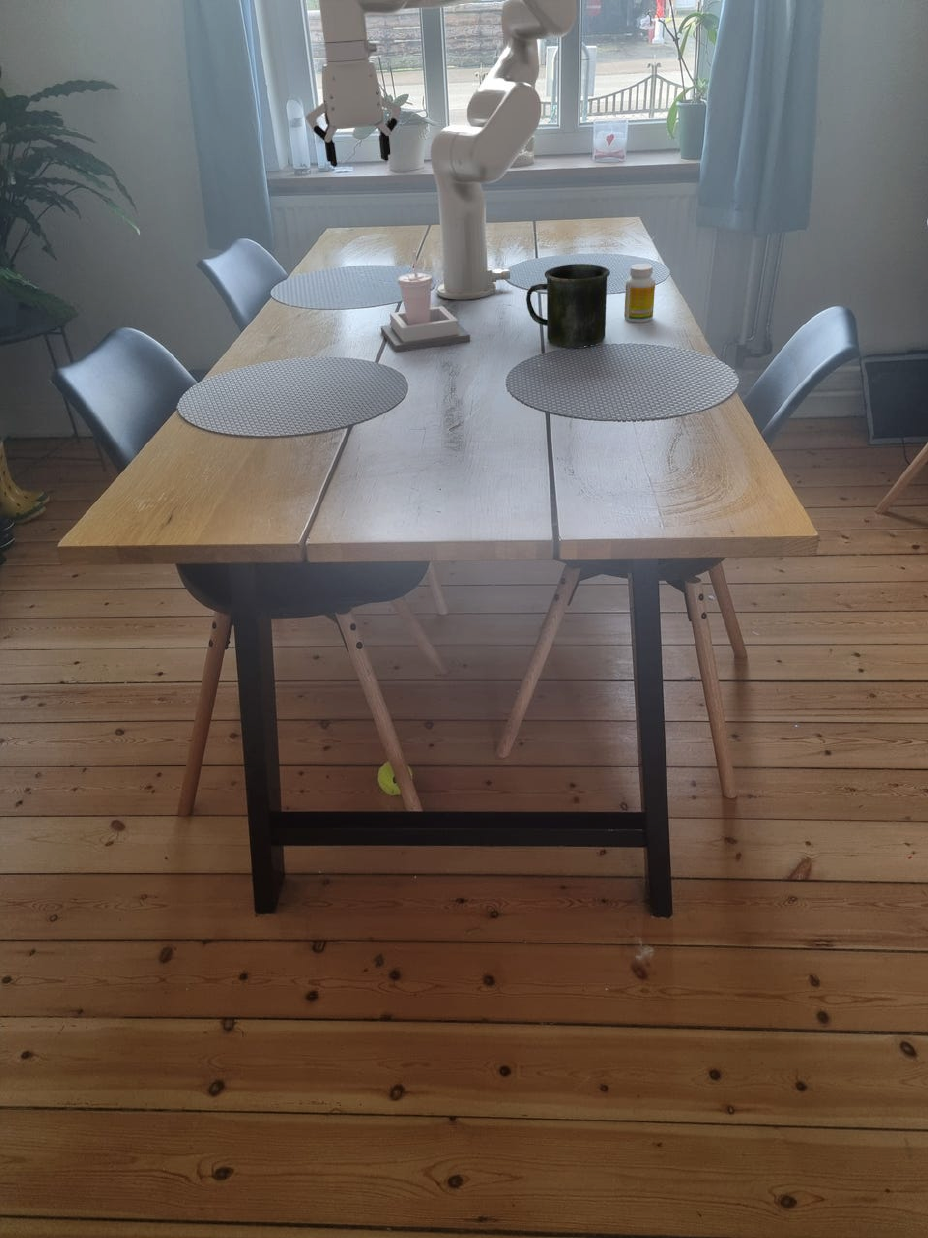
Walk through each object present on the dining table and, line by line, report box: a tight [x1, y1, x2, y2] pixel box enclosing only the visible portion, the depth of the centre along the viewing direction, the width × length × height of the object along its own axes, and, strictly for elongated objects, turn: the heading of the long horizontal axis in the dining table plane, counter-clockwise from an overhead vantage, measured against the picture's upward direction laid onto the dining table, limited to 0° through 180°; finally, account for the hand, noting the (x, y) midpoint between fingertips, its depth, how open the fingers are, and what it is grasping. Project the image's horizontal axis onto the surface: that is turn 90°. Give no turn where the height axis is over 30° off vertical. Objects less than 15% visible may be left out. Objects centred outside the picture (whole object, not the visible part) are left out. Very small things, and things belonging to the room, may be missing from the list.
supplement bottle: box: [623, 263, 656, 324], centre depth 169 cm, size 5×5×10 cm
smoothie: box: [397, 250, 434, 326], centre depth 165 cm, size 6×6×14 cm
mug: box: [525, 263, 611, 349], centre depth 160 cm, size 11×15×12 cm
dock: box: [380, 305, 471, 353], centre depth 169 cm, size 14×13×4 cm
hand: (359, 162), depth 167 cm, fingers open, 9 cm apart
